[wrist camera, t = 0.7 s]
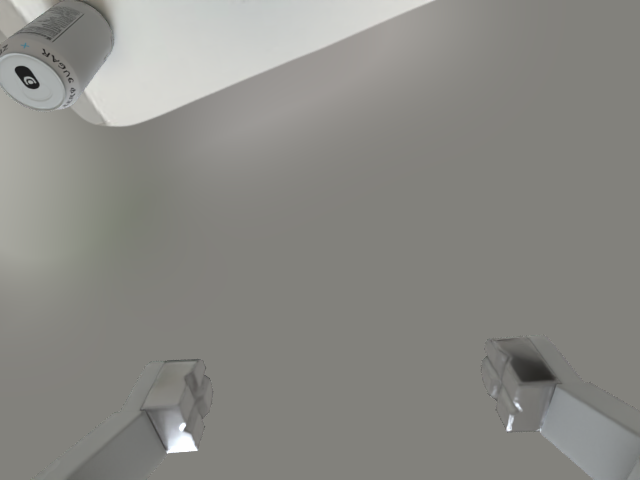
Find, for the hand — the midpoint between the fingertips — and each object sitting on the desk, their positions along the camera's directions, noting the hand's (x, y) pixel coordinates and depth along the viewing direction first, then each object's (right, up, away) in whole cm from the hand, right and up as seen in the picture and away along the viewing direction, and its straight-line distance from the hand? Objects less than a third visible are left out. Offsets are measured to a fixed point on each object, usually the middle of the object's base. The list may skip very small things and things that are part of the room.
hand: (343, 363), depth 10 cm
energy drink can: (-27, +27, +29) cm, 48 cm away
